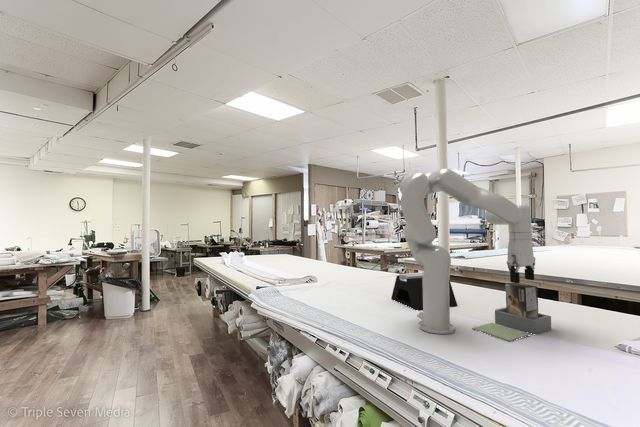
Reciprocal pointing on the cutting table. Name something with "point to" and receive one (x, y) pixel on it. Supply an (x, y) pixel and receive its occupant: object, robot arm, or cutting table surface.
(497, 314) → the grey open frame
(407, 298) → the device stand
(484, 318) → the cutting table surface
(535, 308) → the coffee box
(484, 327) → the mat
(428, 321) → the robot arm
